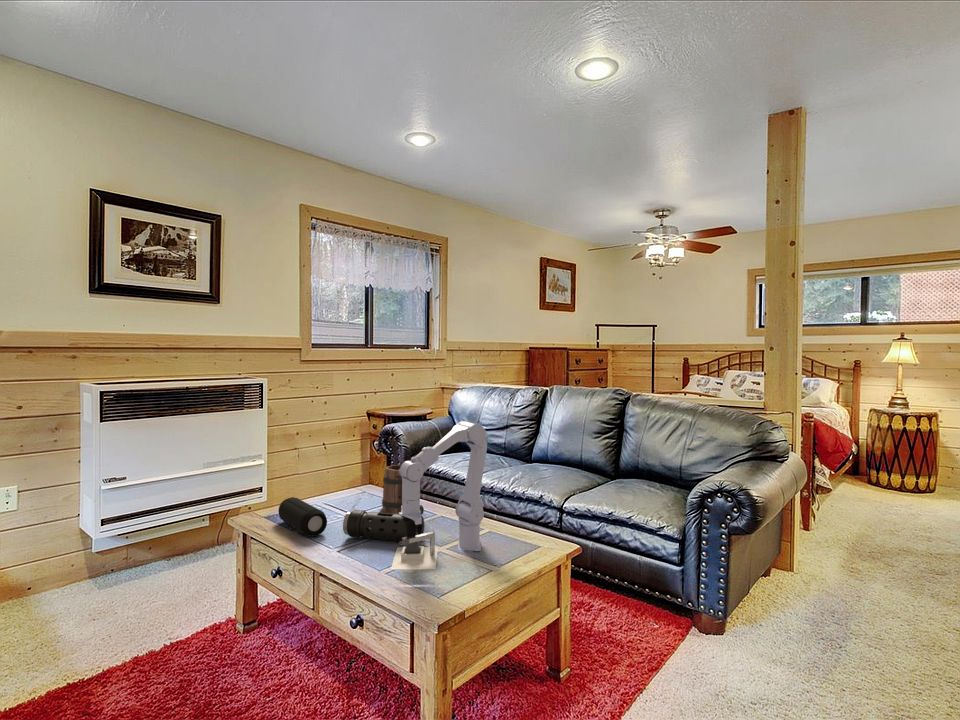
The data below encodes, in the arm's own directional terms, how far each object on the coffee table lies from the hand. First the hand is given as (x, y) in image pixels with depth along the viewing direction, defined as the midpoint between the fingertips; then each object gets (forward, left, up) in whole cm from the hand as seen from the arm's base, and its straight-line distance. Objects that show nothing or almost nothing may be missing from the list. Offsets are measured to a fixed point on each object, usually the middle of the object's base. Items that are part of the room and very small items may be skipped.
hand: (411, 539), depth 171 cm
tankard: (-46, -8, -8) cm, 47 cm away
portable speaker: (-32, -45, -8) cm, 56 cm away
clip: (0, +3, -6) cm, 7 cm away
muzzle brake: (-19, -12, -8) cm, 23 cm away
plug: (-3, -1, -7) cm, 7 cm away
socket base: (-2, +1, -7) cm, 8 cm away
